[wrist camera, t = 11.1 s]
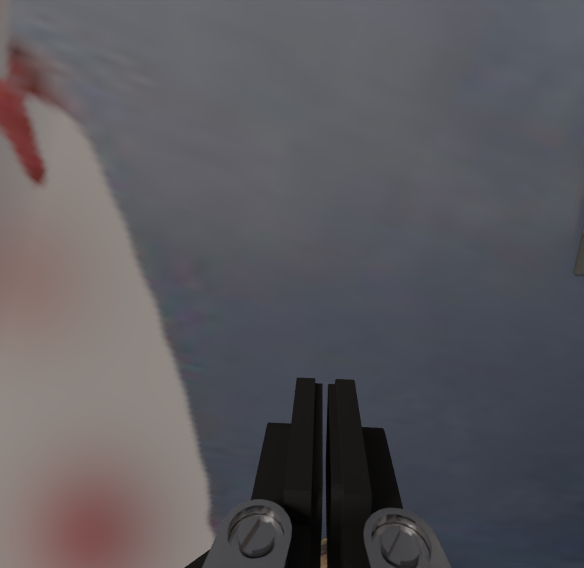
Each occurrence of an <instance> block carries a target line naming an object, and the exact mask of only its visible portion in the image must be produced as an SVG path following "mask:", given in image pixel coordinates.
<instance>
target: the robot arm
mask: <svg viewBox="0 0 584 568" xmlns="http://www.w3.org/2000/svg"><path fill="white" fill-rule="evenodd" d="M322 486H323V462H322V384H318V383H315V378H297V381H296V389H295V397H294V406H293V414H292V422H291V424H287V423H268V424H267V428H266V433H265V437H264V442H263V447H262V451H261V456H260V461H259V465H258V470H257V475H256V479H255V484H254V489H253V493H252V498H251V500H250V501H246V502H244V503H242V504H240V505H238V506H236V507H235V508H234V509H233V510H231V511H230V512H229V513H228V514H227V516H226V518H225V519H224V521H223V522H222V524H221V527H220V529H219V531H218V533H217V536H216V538H215V540H214V542H213V545H212V547H211V549H210V550H209V551H207V552H206V553H205V554H203V555H202V556H200V557H199V558H197V559H196V560H195V561H193V562H192V563H190V564H189V565H188V566H186V567H185V568H320V567H321V531H322ZM326 527H327V568H451V566H450V564H449V562H448V560H447V557H446V555H445V553H444V551H443V549H442V547H441V545H440V543H439V540H438V538H437V537H436V535H435V533H434V532H433V530H432V529H431V527H430V526H429V525H428V524H427V523H426V522H425V521H424V520H423V519H422V518H420V517H418V516H417V515H415V514H413V513H412V512H409V511H406V510H403V507H402V502H401V498H400V494H399V490H398V486H397V481H396V477H395V473H394V469H393V465H392V460H391V456H390V452H389V448H388V444H387V439H386V435H385V432H384V429H383V428H370V427H362V426H361V420H360V413H359V407H358V400H357V394H356V387H355V381H354V380H344V379H336V380H335V384H328V405H327V439H326Z"/></svg>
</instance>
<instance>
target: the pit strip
mask: <svg viewBox="0 0 584 568" xmlns="http://www.w3.org/2000/svg"><path fill="white" fill-rule="evenodd" d="M574 274H581V275H584V234H582V238H581V243H580V247H579V251H578V255H577V260H576V264H575V268H574Z"/></svg>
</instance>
